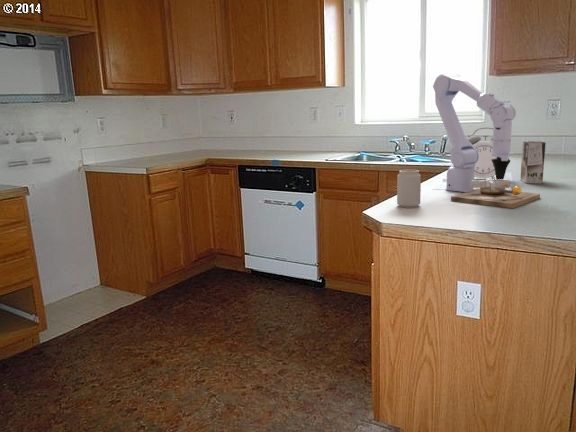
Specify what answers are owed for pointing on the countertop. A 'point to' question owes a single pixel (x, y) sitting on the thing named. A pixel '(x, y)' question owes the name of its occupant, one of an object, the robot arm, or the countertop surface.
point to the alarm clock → (483, 156)
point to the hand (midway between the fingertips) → (499, 179)
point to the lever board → (495, 198)
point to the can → (408, 188)
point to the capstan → (494, 186)
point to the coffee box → (532, 161)
